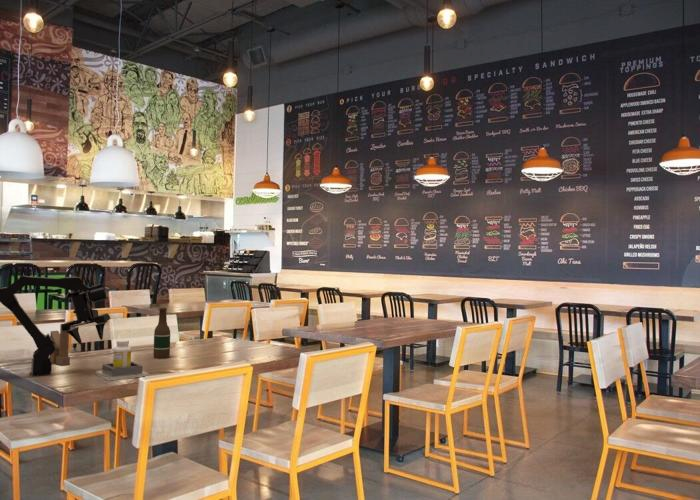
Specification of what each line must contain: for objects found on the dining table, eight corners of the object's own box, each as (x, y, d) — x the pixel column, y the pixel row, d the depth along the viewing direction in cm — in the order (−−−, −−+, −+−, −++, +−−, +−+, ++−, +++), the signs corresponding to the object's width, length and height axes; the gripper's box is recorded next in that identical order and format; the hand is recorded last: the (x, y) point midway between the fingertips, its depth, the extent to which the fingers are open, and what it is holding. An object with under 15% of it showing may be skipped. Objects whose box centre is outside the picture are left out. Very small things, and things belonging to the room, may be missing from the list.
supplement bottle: (128, 370, 246) (129, 339, 246) (132, 373, 241) (133, 341, 241) (111, 371, 242) (112, 339, 242) (115, 374, 237) (116, 342, 237)
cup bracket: (108, 380, 230) (108, 370, 230) (95, 374, 242) (95, 363, 242) (148, 376, 240) (149, 366, 240) (134, 370, 253) (134, 360, 253)
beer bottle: (173, 357, 286) (174, 307, 286) (158, 359, 280) (159, 308, 281) (164, 355, 291) (166, 306, 292) (149, 357, 286) (151, 307, 286)
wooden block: (57, 362, 267) (58, 321, 267) (70, 364, 261) (71, 323, 261) (49, 363, 264) (50, 322, 264) (61, 366, 258) (63, 324, 258)
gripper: (110, 297, 253) (120, 332, 255) (69, 306, 255) (79, 341, 256) (99, 302, 242) (109, 339, 244) (55, 312, 244) (66, 348, 245)
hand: (91, 341), depth 248 cm, fingers open, 9 cm apart
